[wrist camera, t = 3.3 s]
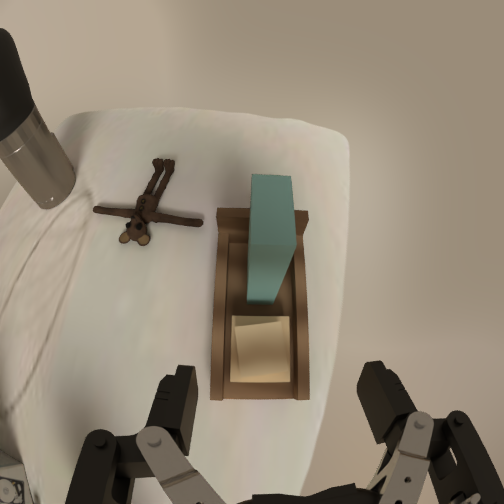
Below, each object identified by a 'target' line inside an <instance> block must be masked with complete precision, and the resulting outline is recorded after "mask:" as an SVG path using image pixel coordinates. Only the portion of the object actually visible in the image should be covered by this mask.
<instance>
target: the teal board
mask: <svg viewBox="0 0 504 504" xmlns="http://www.w3.org/2000/svg"><path fill="white" fill-rule="evenodd" d="M296 246H297V242H296V228H295V215H294V203H293V192H292V181H291V176H280V175H258V174H252V183H251V201H250V220H249V240H248V263H247V304H256V305H273V303H274V301H275V298H276V296H277V293H278V291H279V288H280V286H281V284H282V281H283V279H284V276H285V274H286V271H287V269H288V266H289V264H290V261H291V259H292V256H293V254H294V251H295V249H296Z"/></svg>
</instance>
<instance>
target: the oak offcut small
mask: <svg viewBox="0 0 504 504" xmlns="http://www.w3.org/2000/svg"><path fill="white" fill-rule="evenodd" d="M235 334H236V343H237V351H238V359H239V367H240V375H241V378H242V377H251V376H259V375H266V374H273V373H280V372H286V371H288V364H287V358H286V351H285V345H284V338H283V332H282V326H281V321H278V322H271V323H263V324H255V325H246V326H237V327H235Z"/></svg>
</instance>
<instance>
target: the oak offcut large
mask: <svg viewBox="0 0 504 504" xmlns="http://www.w3.org/2000/svg"><path fill="white" fill-rule="evenodd" d="M278 321H281V326H282V332H283V338H284V345H285V351H286V358H287V364H288V371H286V372H280V373H273V374H266V375H259V376H251V377H242V378H241V375H240V367H239V359H238V351H237V343H236V334H235V327H237V326H246V325H255V324H263V323H271V322H278ZM230 382H290V329H289V316H232V333H231V371H230Z"/></svg>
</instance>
